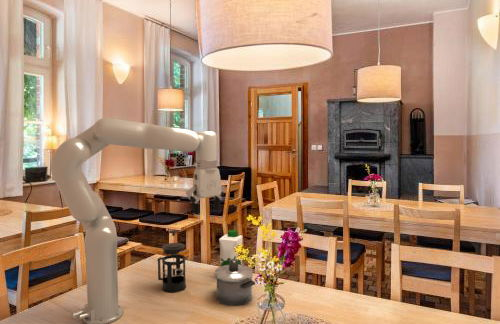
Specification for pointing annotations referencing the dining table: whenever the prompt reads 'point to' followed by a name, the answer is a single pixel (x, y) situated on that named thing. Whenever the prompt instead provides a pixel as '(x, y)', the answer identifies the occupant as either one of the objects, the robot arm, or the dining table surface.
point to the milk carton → (229, 247)
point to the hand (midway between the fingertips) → (206, 212)
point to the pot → (234, 292)
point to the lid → (233, 272)
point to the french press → (172, 273)
